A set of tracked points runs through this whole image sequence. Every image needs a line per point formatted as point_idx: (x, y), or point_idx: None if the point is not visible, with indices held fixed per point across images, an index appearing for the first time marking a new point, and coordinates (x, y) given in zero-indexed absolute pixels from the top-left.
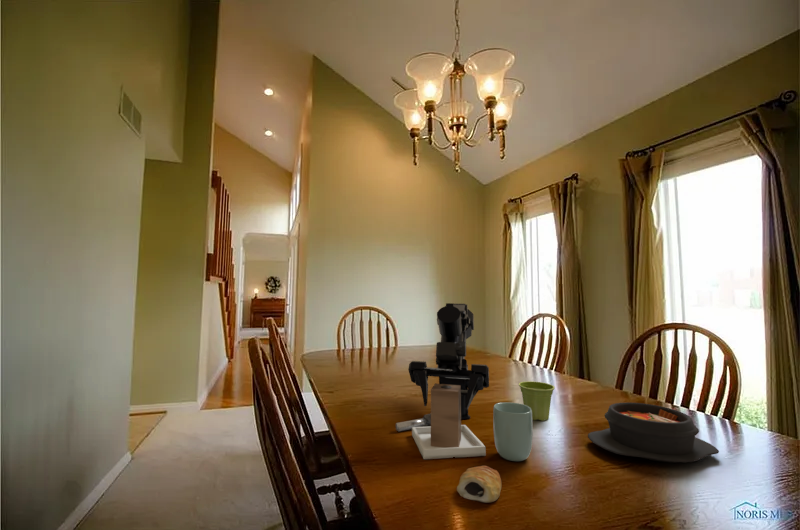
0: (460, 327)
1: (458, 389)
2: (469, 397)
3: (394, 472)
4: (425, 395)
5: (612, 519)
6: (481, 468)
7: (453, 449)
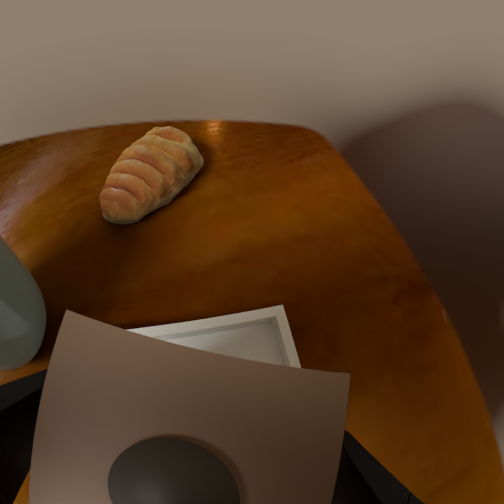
0: None
1: (46, 394)
2: (10, 387)
3: (338, 242)
4: (360, 463)
5: (24, 143)
6: (142, 163)
7: (178, 323)
